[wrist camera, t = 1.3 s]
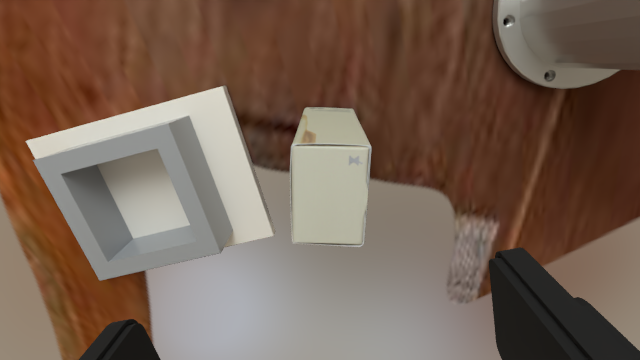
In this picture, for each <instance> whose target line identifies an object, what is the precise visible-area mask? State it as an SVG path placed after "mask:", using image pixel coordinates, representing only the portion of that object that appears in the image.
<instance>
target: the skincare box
mask: <svg viewBox="0 0 640 360" xmlns="http://www.w3.org/2000/svg"><path fill="white" fill-rule="evenodd" d="M370 161H371V145H370V143H369V141H368V139H367V137H366V135H365V133H364V131H363V129H362V127H361V125H360V123H359V121H358V119H357V117H356V115H355V112H354V110H353V109H345V108H322V107H313V108H305V109H304V112H303V115H302V118H301V121H300V124H299V127H298V129H297V132H296V135H295V138H294V141H293V143H292V146H291V157H290V212H291V232H292V243H294V244H310V245H323V246H324V245H325V246H344V247H361V246H363V244H364V239H365V228H366V216H367V204H368V190H369V175H370Z"/></svg>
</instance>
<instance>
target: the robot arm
mask: <svg viewBox="0 0 640 360" xmlns="http://www.w3.org/2000/svg"><path fill="white" fill-rule="evenodd" d="M504 19H505V20H506V24H505V25H504V24H503V20H504ZM493 31H494V35H495V39H496V43H497V46H498V48H499V50H500V52H501V55H502V57H503V59H504V60H505V61H506V62H507V64H508V65H509V66H510V68H511V69H512V70H513V71H515V72H516V73H517V74H518V75H519V76H521V77H522V78H524V79H526V80H528V81H530V82H532V83H534V84H536V85H541V86H545V87H549V88H560V89H567V88H579V87H583V86H587V85H591V84H594V83H597V82H599V81H601V80H604V79H606V78H608V77H610V76H612V75H613V74H615V73H616V72H618V71H620V70H640V0H494V5H493ZM545 74H546V76H545V77H544V75H545ZM489 270H490V281H491V291H492V301H493V312H494V324H495V334H496V343H497V348H498V351H499V354H500V356H501V358H502V360H640V351H639V350H638V349H637V348H636V347H635V346H633V344H631V343H630V342H629V341H628V340H627V339H626V338H625V337H624V336H623V335H622V334H621V333H620V332H619V331H618V330H617V329H616V328H615V327H614V326H613V325H611V324H610V323H609V322H608V321H607V320H606V319H605V318H604V317H603V316H602V315H601V314H600V313H599V312H598V311H597V310H596V309H595V308H594V307H593V306H592V305H591V304H589V303H588V302H587V301H585V300H584V299H582V298H579V297H577V298H573V297H572V296H571V295H570V294H569V293H568V292H567V291H566V290H565V289H564V288H563V287H562V286H561V285H560V284H559V283H558V282H557V281H556V280H555V279H554V278H553V277H552V276H551V275H550V274H549V273H548V272H547V271H546V270H545V269H544V268H543V267H542V266H541V265H540V264H539V263H538V262H537V261H536V260H535V259H534V258H533V257H532V256H531V255H530V254H529V253H528V252H527V251H526V250H524V249H523V248H515V249H510V250H504V251H499V252H497V253H496V255H495V259H490V260H489ZM79 360H160V358H159V356H158V354H157V352H156V350H155V348H154V346H153V344H152V342H151V340H150V338H149V336H148V334H147V333H146V331H145V329H144V327H143V326H142V325H141V324H138V322H137V321H136V320H134V319H129V320H124V321H118V322H113V323H111V324H109V325H108V326H107V327H106V328H105V329H104V330H103V331H102V333H101V334H100V335H99V336H98V337H97V339H96V340H95V341H94V342H93V343H92V344H91V346H90V347H89V348H88V349H87V350H86V352H85V353H84V354H83V355H82V356H81V358H80V359H79Z"/></svg>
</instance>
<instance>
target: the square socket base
mask: <svg viewBox="0 0 640 360" xmlns="http://www.w3.org/2000/svg"><path fill="white" fill-rule="evenodd" d="M26 143H27V144H28V146H29V148H30V150H31V152H32V153H33V155H34V157H35V160H33V161H34V163H35V165H36V167H37V169H38V170H39V172H40V174H41V176H42V178H43V179H44V181H45V183H46V185H47V187H48V188H49V190H50V192H51V194H52V196H53V197H54V199H55V201H56V203H57V205H58V206H59V208H60V210H61V212H62V214H63V215H64V217H65V219H66V221H67V223H68V224H69V226H70V228H71V230H72V232H73V233H74V235H75V237H76V239H77V241H78V242H79V244H80V246H81V248H82V250H83V251H84V253H85V255H86V257H87V259H88V260H89V262H90V264H91V266H92V268H93V269H94V271H95V273H96V275H97V277H98V278H99V280H105V279H109V278H113V277H118V276H122V275H127V274H131V273H135V272H140V271H144V270H148V269H153V268H157V267H162V266H166V265H170V264H175V263H179V262H184V261H188V260H192V259H196V258H201V257H206V256H210V255H214V254H219V253H221V252H222V250H223V248H224V247H228V246H232V245H237V244H241V243H245V242H249V241H254V240H258V239H262V238H267V237H271V236H274V234H275V229H274V226H273V223H272V220H271V217H270V214H269V211H268V208H267V205H266V202H265V199H264V196H263V193H262V190H261V187H260V184H259V181H258V179H257V176H256V173H255V170H254V167H253V164H252V161H251V158H250V155H249V152H248V149H247V146H246V143H245V140H244V137H243V134H242V131H241V129H240V126H239V123H238V120H237V117H236V114H235V111H234V108H233V105H232V102H231V99H230V96H229V93H228V90H227V87H226V86H222V87H218V88H214V89H211V90H207V91H204V92H200V93H196V94H193V95H189V96H186V97H182V98H179V99H175V100H171V101H168V102H164V103H161V104H157V105H153V106H150V107H146V108H143V109H139V110H135V111H132V112H128V113H125V114H121V115H118V116H114V117H110V118H107V119H103V120H100V121H96V122H92V123H89V124H85V125H82V126H78V127H74V128H71V129H67V130H64V131H60V132H56V133H53V134H49V135H46V136H42V137H39V138H35V139H31V140H28V141H26Z"/></svg>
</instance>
